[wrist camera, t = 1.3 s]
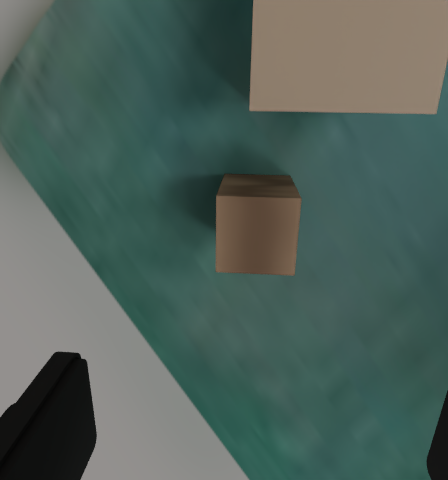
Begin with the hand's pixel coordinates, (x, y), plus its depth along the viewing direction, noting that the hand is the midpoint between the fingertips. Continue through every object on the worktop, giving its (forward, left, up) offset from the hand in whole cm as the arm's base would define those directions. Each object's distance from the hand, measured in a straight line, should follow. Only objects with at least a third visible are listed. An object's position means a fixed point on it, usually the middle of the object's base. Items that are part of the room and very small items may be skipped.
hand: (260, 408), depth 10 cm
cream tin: (-4, -12, -21) cm, 24 cm away
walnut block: (0, 0, -21) cm, 21 cm away
